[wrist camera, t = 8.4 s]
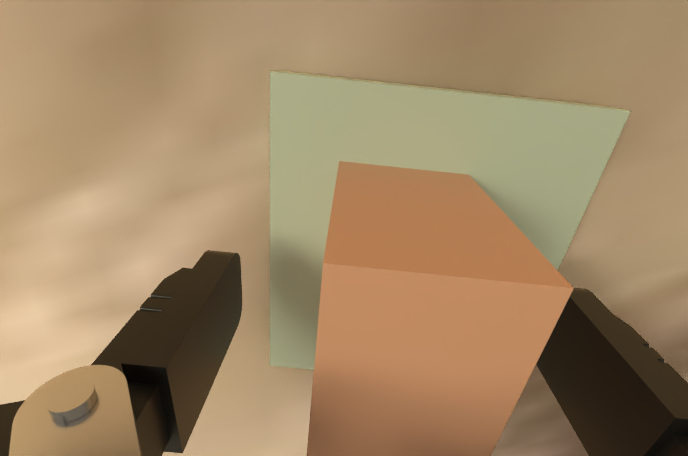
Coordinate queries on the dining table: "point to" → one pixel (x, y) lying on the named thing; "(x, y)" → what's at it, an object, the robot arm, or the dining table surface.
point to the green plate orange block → (421, 253)
